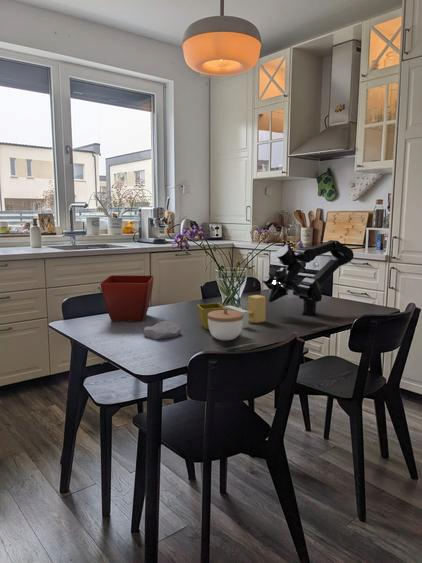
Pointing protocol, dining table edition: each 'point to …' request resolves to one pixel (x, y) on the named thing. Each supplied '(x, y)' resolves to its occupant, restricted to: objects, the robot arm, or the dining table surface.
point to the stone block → (162, 330)
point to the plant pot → (127, 296)
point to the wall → (245, 315)
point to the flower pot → (205, 309)
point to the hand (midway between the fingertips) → (269, 301)
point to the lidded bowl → (225, 324)
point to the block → (256, 308)
